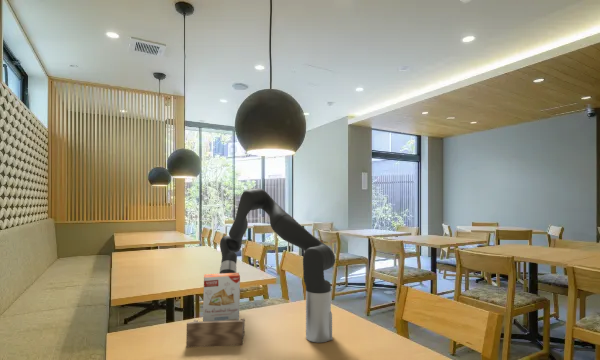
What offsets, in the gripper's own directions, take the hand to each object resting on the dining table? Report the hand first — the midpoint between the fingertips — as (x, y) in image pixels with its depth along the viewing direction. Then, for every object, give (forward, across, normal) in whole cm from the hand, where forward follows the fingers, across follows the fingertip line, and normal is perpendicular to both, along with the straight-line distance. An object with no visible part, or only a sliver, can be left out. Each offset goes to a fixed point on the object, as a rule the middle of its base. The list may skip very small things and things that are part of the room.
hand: (223, 309), depth 140 cm
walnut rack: (+16, 0, -9) cm, 18 cm away
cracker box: (+9, 0, -2) cm, 9 cm away
